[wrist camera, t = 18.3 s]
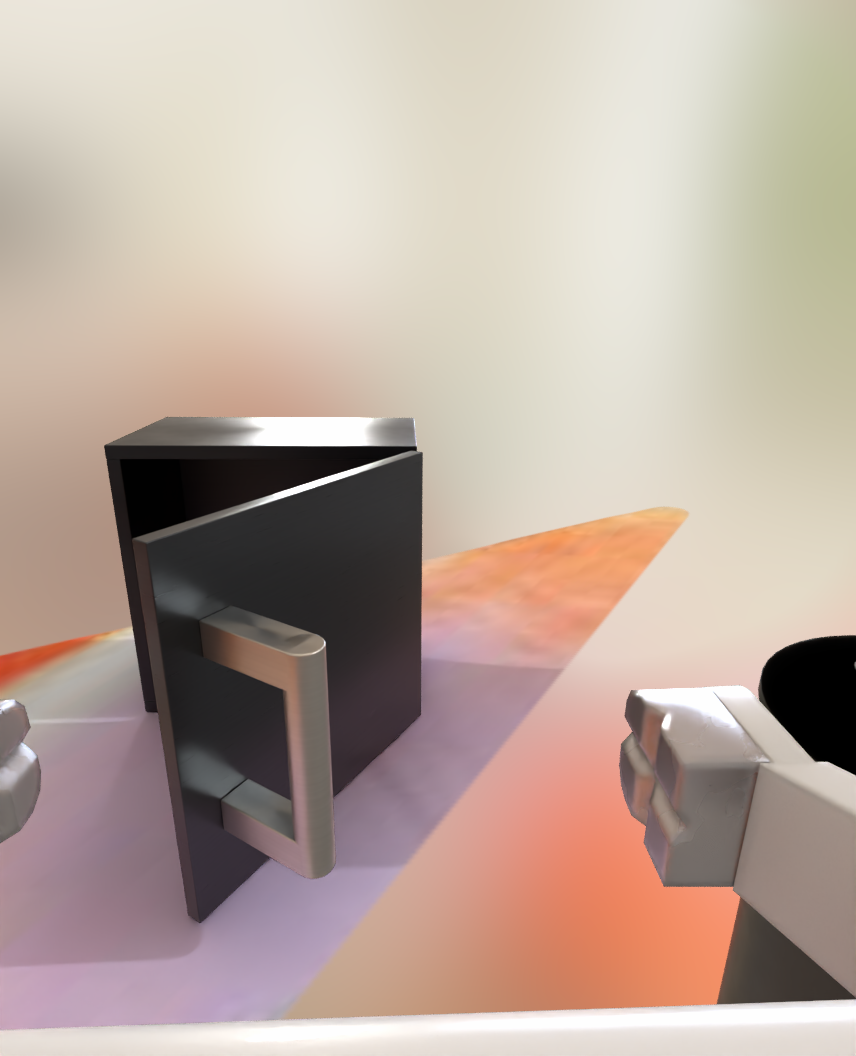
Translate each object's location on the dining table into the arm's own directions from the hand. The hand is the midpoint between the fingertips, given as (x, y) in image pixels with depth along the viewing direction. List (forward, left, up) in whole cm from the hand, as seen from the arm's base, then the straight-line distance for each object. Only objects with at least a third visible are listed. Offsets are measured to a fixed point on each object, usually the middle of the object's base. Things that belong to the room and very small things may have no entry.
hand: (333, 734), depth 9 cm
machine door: (-4, -19, -19) cm, 27 cm away
